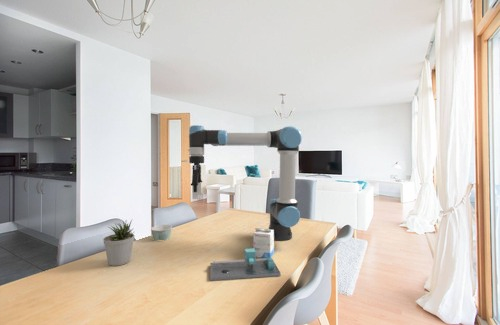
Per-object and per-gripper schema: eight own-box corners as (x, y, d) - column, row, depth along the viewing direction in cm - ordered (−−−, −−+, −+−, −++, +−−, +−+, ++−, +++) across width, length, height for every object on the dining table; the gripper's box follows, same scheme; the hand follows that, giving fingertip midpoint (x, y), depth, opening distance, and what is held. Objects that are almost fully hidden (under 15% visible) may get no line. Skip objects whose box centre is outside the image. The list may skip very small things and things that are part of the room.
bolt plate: (272, 261, 114) (272, 252, 114) (280, 275, 100) (280, 265, 100) (210, 265, 110) (210, 256, 110) (210, 280, 96) (210, 270, 96)
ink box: (274, 252, 125) (274, 226, 125) (270, 258, 118) (270, 230, 117) (258, 250, 128) (258, 224, 128) (253, 256, 120) (253, 229, 120)
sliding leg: (253, 261, 110) (253, 248, 110) (256, 269, 103) (256, 255, 103) (244, 262, 110) (244, 248, 110) (247, 269, 102) (247, 255, 102)
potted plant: (102, 271, 104) (101, 224, 104) (104, 259, 116) (103, 217, 116) (135, 265, 110) (135, 220, 109) (133, 255, 122) (133, 214, 122)
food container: (155, 243, 139) (155, 231, 139) (147, 238, 148) (147, 227, 148) (175, 238, 147) (175, 227, 147) (167, 234, 156) (167, 223, 156)
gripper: (192, 155, 141) (192, 193, 141) (185, 155, 116) (185, 200, 117) (206, 155, 142) (206, 193, 142) (201, 155, 117) (202, 200, 117)
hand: (196, 196), depth 129 cm, fingers open, 13 cm apart
